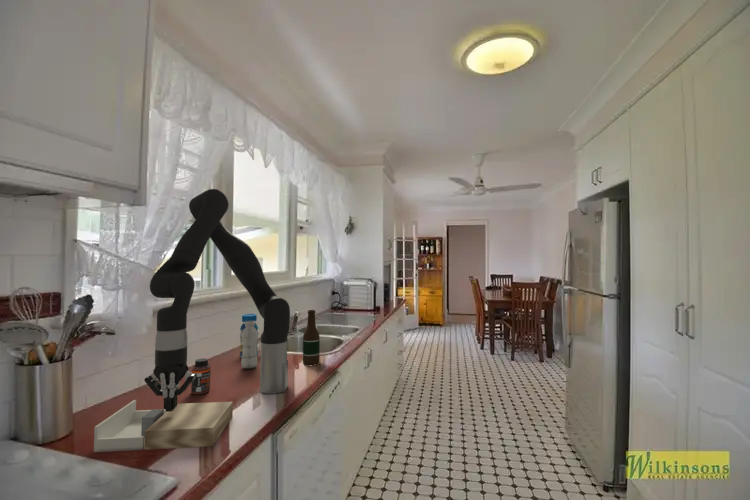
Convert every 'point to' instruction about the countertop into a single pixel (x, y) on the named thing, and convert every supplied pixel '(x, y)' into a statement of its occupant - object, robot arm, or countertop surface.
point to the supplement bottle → (201, 377)
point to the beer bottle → (311, 341)
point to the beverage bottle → (245, 318)
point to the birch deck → (189, 426)
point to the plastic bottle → (249, 346)
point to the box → (121, 430)
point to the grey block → (150, 419)
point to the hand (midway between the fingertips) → (170, 410)
